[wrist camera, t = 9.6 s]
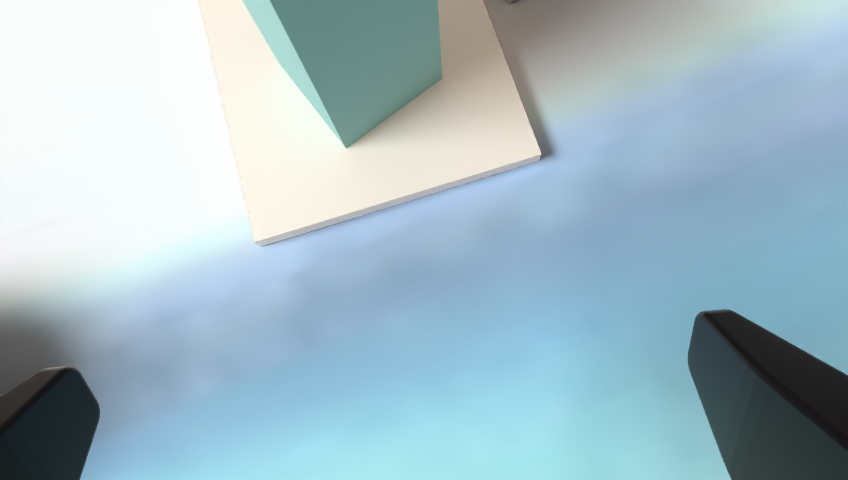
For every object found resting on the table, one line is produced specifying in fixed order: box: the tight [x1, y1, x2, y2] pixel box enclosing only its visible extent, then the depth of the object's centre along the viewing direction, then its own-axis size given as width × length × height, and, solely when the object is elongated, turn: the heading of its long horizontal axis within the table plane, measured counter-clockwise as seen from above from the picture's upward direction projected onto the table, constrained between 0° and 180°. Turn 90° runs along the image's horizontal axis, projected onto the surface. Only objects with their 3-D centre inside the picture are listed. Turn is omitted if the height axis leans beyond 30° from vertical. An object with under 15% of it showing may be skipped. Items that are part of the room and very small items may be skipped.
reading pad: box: [198, 0, 541, 246], centre depth 24 cm, size 12×12×1 cm
